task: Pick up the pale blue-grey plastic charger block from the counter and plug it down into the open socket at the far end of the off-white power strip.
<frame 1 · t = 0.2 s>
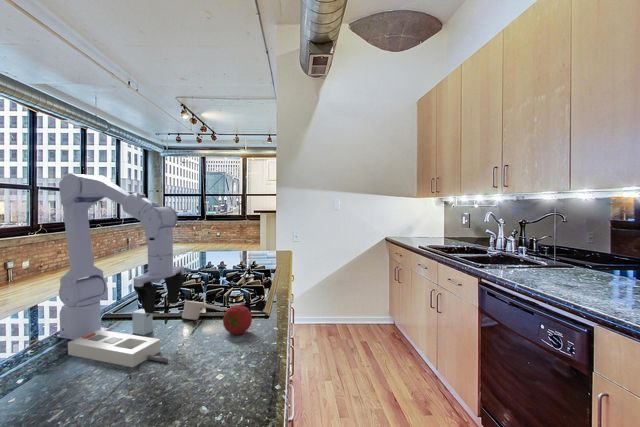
hand: (161, 307, 82), 10 cm above the worktop, tool pointing down, fingers open, 7 cm apart
toilet paper hanger: (205, 315, 106), on the worktop
charger: (142, 332, 91), on the worktop
tomato: (237, 334, 90), on the worktop
power strip: (114, 353, 79), on the worktop
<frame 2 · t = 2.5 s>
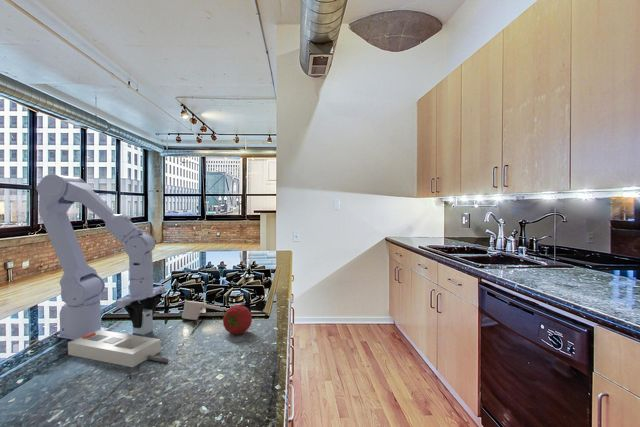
hand: (142, 325, 91), 2 cm above the worktop, tool pointing down, fingers closed on charger, 3 cm apart
charger: (142, 331, 91), on the worktop, touching gripper
everything else where it was.
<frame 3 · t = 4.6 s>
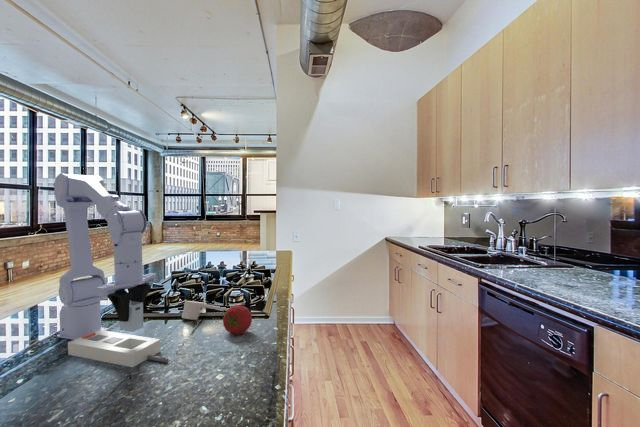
hand: (130, 318, 77), 9 cm above the worktop, tool pointing down, fingers closed on charger, 3 cm apart
charger: (131, 328, 77), point 7 cm above the worktop, touching gripper
everything else where it was.
when the fingers open (4 cm above the worktop, at t = 6.6 s): charger drops 1 cm, resting in power strip.
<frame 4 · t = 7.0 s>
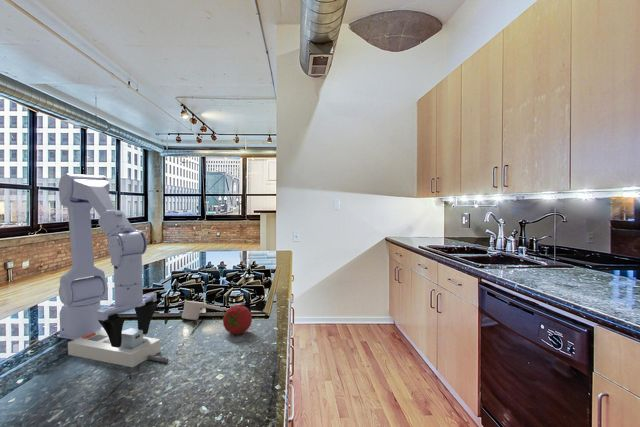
hand: (130, 339, 77), 4 cm above the worktop, tool pointing down, fingers open, 7 cm apart
charger: (131, 356, 77), resting in power strip
everything else where it was.
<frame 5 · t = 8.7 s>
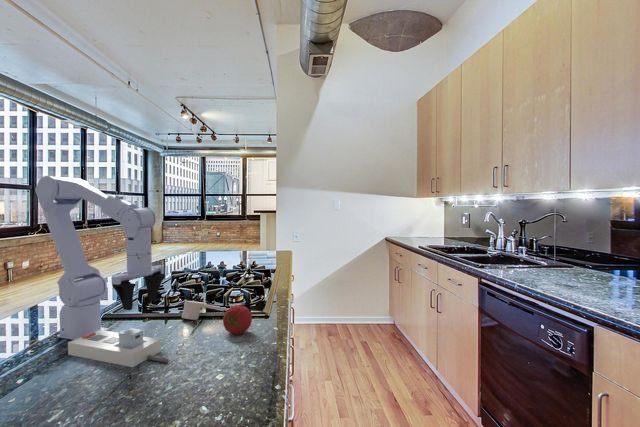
hand: (140, 304, 86), 9 cm above the worktop, tool pointing down, fingers open, 7 cm apart
nothing on the worktop moved.
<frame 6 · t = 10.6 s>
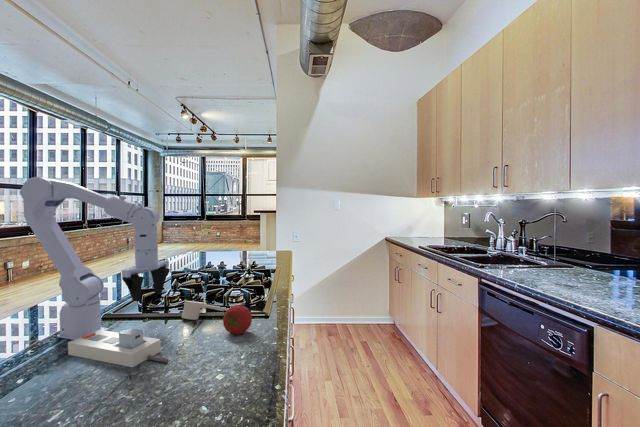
hand: (147, 296, 93), 9 cm above the worktop, tool pointing down, fingers open, 7 cm apart
nothing on the worktop moved.
at the end: charger 0.3 cm from the target spot on the power strip, point 0.0 cm above the power strip's base; charger tilted 0°; the gripper is holding nothing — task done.
